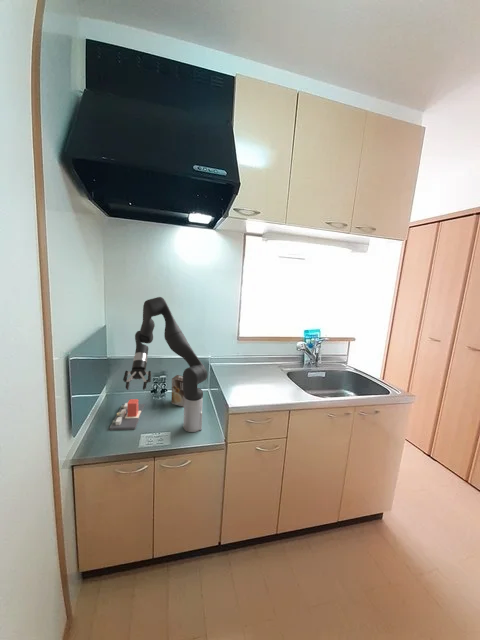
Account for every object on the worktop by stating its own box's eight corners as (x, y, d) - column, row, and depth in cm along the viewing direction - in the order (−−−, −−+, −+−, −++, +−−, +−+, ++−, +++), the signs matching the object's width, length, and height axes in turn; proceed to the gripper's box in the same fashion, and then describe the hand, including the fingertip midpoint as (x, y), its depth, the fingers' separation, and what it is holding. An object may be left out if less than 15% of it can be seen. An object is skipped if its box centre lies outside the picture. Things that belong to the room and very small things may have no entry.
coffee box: (189, 402, 159) (190, 377, 156) (184, 407, 153) (185, 381, 150) (176, 398, 162) (177, 374, 159) (170, 403, 156) (171, 378, 153)
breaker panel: (144, 405, 152) (144, 400, 151) (135, 429, 131) (135, 423, 130) (122, 406, 150) (122, 400, 149) (109, 429, 129) (109, 424, 128)
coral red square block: (138, 411, 143) (138, 399, 141) (136, 416, 139) (136, 403, 137) (129, 411, 142) (129, 399, 141) (127, 416, 138) (127, 403, 137)
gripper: (125, 359, 149) (120, 387, 140) (152, 359, 151) (148, 387, 142) (128, 364, 155) (123, 391, 146) (153, 364, 157) (150, 391, 148)
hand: (135, 389), depth 144 cm, fingers open, 8 cm apart
